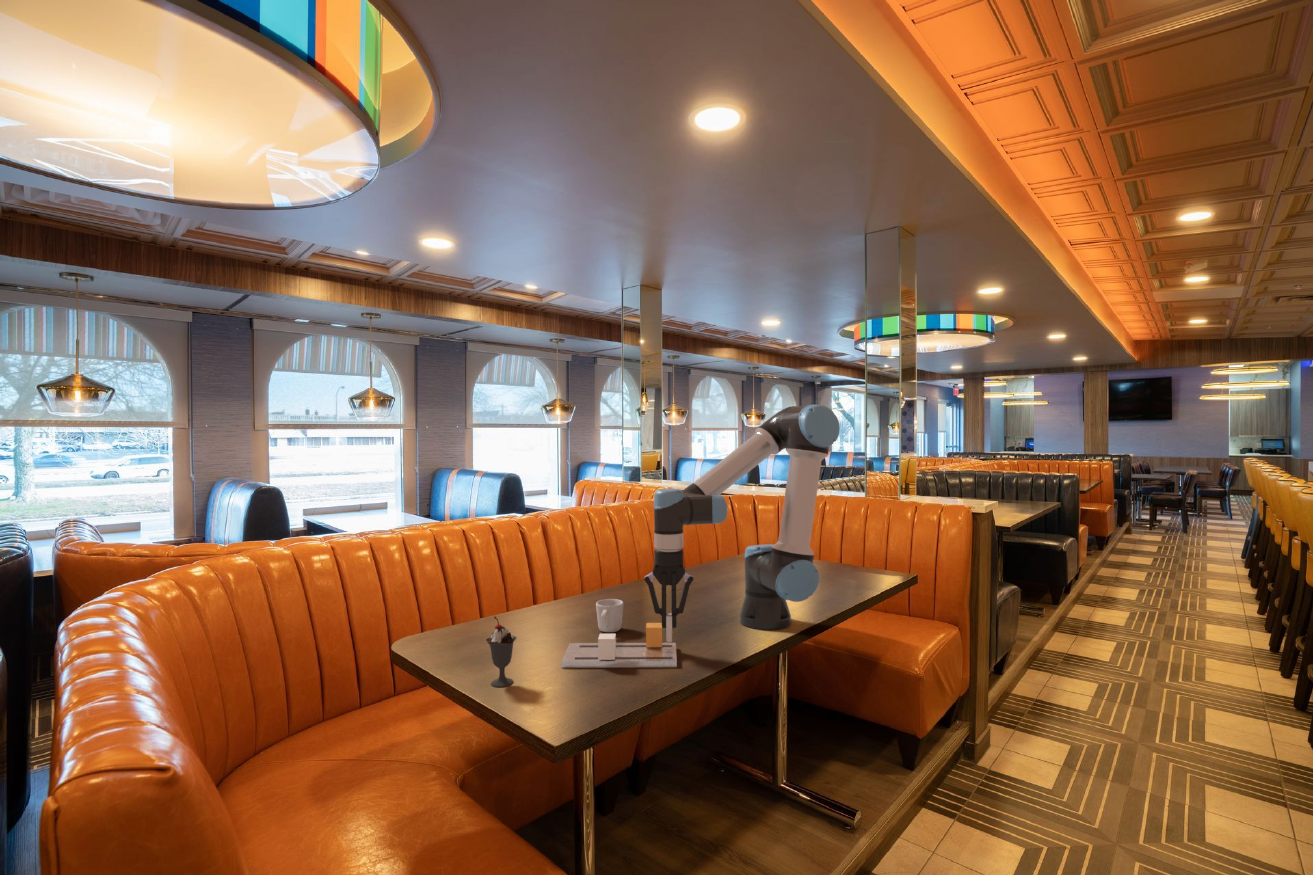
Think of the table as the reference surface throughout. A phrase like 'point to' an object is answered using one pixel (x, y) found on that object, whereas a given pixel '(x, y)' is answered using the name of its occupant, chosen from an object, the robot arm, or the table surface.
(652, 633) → the fader
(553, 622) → the table surface
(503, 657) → the sundae
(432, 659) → the table surface
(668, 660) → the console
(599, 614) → the cup
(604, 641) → the block
